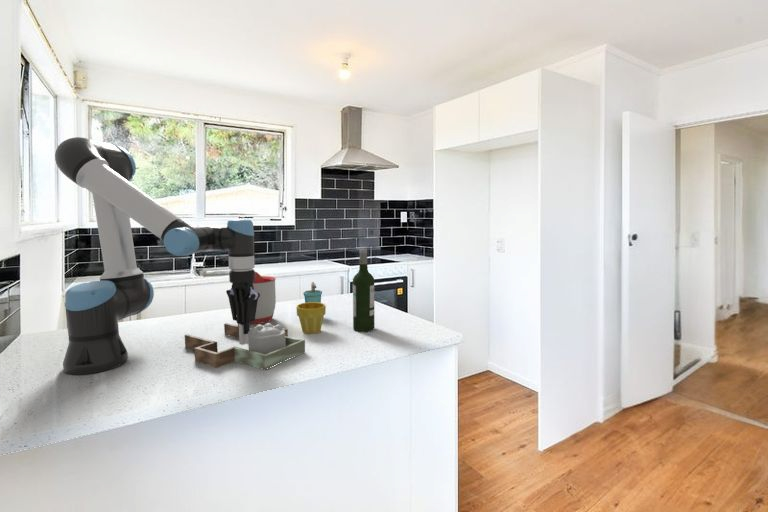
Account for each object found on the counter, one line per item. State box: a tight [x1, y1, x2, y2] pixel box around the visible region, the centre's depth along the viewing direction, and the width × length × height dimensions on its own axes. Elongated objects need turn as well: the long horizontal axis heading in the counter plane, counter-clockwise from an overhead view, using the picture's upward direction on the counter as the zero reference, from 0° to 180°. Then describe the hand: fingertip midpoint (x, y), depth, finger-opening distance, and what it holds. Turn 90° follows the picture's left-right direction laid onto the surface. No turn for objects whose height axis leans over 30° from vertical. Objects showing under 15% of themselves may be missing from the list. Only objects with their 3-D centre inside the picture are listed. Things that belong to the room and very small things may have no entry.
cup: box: [303, 281, 323, 303], centre depth 165 cm, size 14×8×15 cm, turn 18°
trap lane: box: [184, 322, 306, 370], centre depth 127 cm, size 37×28×4 cm
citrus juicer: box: [250, 271, 277, 325], centre depth 160 cm, size 16×17×20 cm
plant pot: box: [296, 302, 327, 335], centre depth 146 cm, size 10×10×10 cm
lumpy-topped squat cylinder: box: [247, 322, 286, 354], centre depth 124 cm, size 10×13×9 cm
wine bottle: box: [352, 248, 375, 333], centre depth 148 cm, size 8×8×30 cm
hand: (244, 343), depth 126 cm, fingers closed
